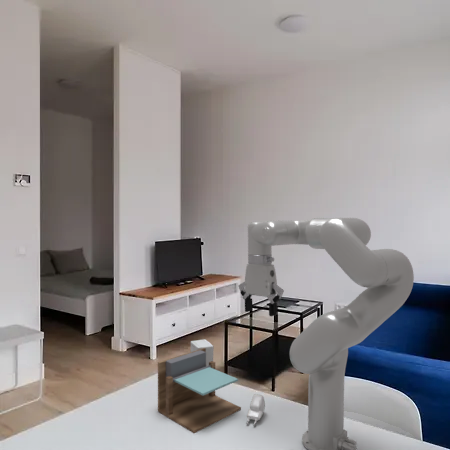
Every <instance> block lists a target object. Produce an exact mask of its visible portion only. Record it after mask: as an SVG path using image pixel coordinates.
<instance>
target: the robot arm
mask: <svg viewBox="0 0 450 450" xmlns="http://www.w3.org/2000/svg"><path fill="white" fill-rule="evenodd" d="M371 237H372V232H371V228H370V226H369V224H368V223H367V222H366V221H364V220H363V219H362V218H361V219H360V218H358V217H326V218H324V217H323V218H322V217H321V218H320V217H319V218H318V217H317V218H312V219H310V220H269V221H252V222H249V223H248V226H247V264H246V268H245V274H244V275H245V276H244V282H242V283H240V284H238V289H239V291H240V292H239V293H240V295H241V296H242V299H243V300H244V312H245V313H246V312H247V313H248V312H252V311H253V298H252V297H253V296H256V297H263V298H264V297H265V298H267V299H268V301H269V302H270V303H269V304H268V315H269V317H274V316H277V313H278V303H279V301H280V300H281V299H282V296H283V294H284V291H285V290H284V289H283V288H282V287H280V286H279V285H278V282H277V280H278V279H277V272H276V266H275V265H274V264H273V263H272V262H274V261H275V258H274V256H272V246H283V245H284V246H285V245H303V246H304V245H309V246H310V248H312V249H315V250H324V251H325V252H327V254H328V255H329V256H330V258H331V259H332V260H333V262H335V263H336V265H337V266H338V267H339V268H341V270H342V271H343V272H344V273H345V274H346V275H347V277H348V278H349V279H350V280H351V281H353V283H355V284H356V285H358V286H360V287H363V288H366V289H364V290H363V291H362V292H360V293H359V294H358V295H357V296H356V297H355V299H353V300H352V301H351V302H350V303H349V304H348V305H346V306H344V307H341V308H339V309H336V310H335V309H334V310H332V311H328V312H326V313H323V314H322V315H319V316H318V317H317V318H316V319H314V320H313V321H312V322H311V323H310V324H309V325H308V326H307V327H306V328H304V330H303V331H302V332H301V333H300V334H299V335H297V336H296V338H294V340H293V341H292V343H291V345H290V348H289V359H290V363H291V364H292V366H293V368H294V369H296V370H297V371H298V372H300V373H303V374H306V375H308V391H307V393H308V396H307V397H308V399H307V400H308V401H307V403H308V405H307V406H308V407H307V408H308V409H307V410H308V412H307V413H308V414H307V415H308V416H307V430H306V431H305V432H304V433H303V434H302V439H301V440H302V442H301V443H302V444H303V446H304V447H305V449H306V450H357V441H356V440H354V439H352V438H349V436H348V430H346V429H344V426H345V425H344V424H345V423H344V422H345V421H344V420H345V413H344V412H345V377H346V376H345V373H346V368H347V362H348V356H349V348H351V347H354V346H357V345H359V344H360V343H362V342H363V341H364V340H365V339H366V338H367V337H368V336H369V335H371V334H372V333H373V332H375V330H377V329H378V328H379V327H380V326H381V325H382V324H383V323H384V322H385V321H387V320H388V319H389V318H390V317H391V316H393V314H395V313H396V312H397V311H398V310H399V309H400V308H402V306H403V305H404V304H405V302H406V301H407V299H408V298H409V296H410V294H411V292H412V289H413V286H414V279H415V273H414V268H413V265H412V263H411V261H410V259H409V257H408V256H406V254H404V253H403V252H401V251H400V250H397V249H393V248H381V249H372V250H371V249H370V248H369V247H368V246H367V245H368V244H369V242H370V240H371Z"/></svg>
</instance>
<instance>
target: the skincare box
mask: <svg viewBox="0 0 450 450" xmlns="http://www.w3.org/2000/svg"><path fill="white" fill-rule="evenodd" d="M203 348H206V366H209V362H211V361H213V362H214V344H213V345H212V343H211V342H210V341H208V340H207V339H204V338H203V339H198V340H191V341H190V352H193V351H196V350H199V349H203ZM190 352H189V353H190Z"/></svg>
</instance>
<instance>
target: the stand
mask: <svg viewBox="0 0 450 450" xmlns="http://www.w3.org/2000/svg"><path fill="white" fill-rule="evenodd" d="M199 350H201V351H204V352H206V348H203V349H199ZM199 350H196V351H199ZM196 351H193V352H196ZM193 352H187V353H184V354H181V355H178V356H177V355H176V356H174V357H170V358H167V359H165V360H161V361H158V362H157V412H158V413H159V414H161V415H163V416H164V417H165V418H168V419H170V420H171V421H173V422H174V423H176V424H178V426H179V425H180V426H181V427H183V428H185V429H186V430H188V431H189V432H191V433H193V434H195V433H197V432H199V431H202V430H203V429H205V428H208V427H210V426H212V425H214V424H216V423H217V422H220V421H221V420H224V419H226V418H227V417H228V418H229V416H231V415H233V414H235V413H237V412H239V411H241V410H242V407H241V406H239V405H236V404H234V403H232V402H230V401H228V400H227V399H224V398H222V397H220V396H218V395H216V390H215V391H213V392H210V393H208V394H206V395H201V394H199V393H197V392H195V391H193V390H190V389H188V388H186V387H184V386H182V385H180V384H178V383H176V382H173V377H171V376H168V377H166V361H167V360H170V359H173V358H176V357H180V356H183V355H186V354H189V353H193ZM209 365H210V366H211V368H213V369H215V370H216V361H214V360H213V361H211V362H209Z"/></svg>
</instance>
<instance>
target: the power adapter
mask: <svg viewBox="0 0 450 450" xmlns="http://www.w3.org/2000/svg"><path fill="white" fill-rule="evenodd" d="M265 402H266V401H265V397H264V395H262V394H257V393H255V394H253V396H252V399H251V401H250V404H249V409H248V411H247V415H246V418H247V421H246V426H248V425H249V424H250V421H251V420H253V421H254V422H253V425H252V426H253V427H256V426H257V421H260V420H261V418H263V416H264V415H263V414H264V411H265V408H266V403H265Z"/></svg>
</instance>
